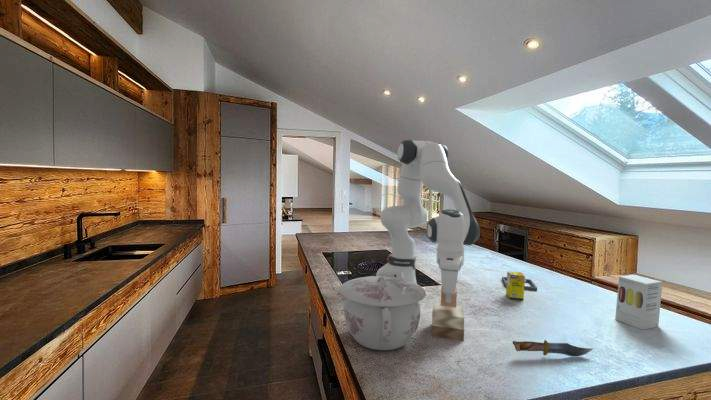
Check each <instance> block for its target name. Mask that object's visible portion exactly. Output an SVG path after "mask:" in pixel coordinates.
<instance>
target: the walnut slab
mask: <svg viewBox="0 0 711 400" xmlns="http://www.w3.org/2000/svg"><path fill="white" fill-rule="evenodd" d="M431 326H432V325H431ZM431 329H432V330H431V336H432V337H435V338H441V339H447V340H455V341H462V342H464V341H465V338H464V337H465V329H464V330H462V329H455V328H447V327H439V326H432V327H431Z"/></svg>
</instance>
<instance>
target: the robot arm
mask: <svg viewBox="0 0 711 400" xmlns="http://www.w3.org/2000/svg"><path fill="white" fill-rule="evenodd" d="M448 158H449V149H448V147H447V146H446V144H443V143H440V142H433V141H429V140H413V139H405V140H402V141H401V142H400V143H399V146H398V149H397V159H398V160H399V162H400V163H402V165H401V167H400V173H399V178H398V184H397V194H398V196H400V197H401V198H402V205H391V206H388V207H385V208H383V209H382V211H381V213H380V216H379V217H380V223H381V224H382V226H383V227H384V228H385V229H386V230H387V231H388V233H389V236H390V239H391V254H389V255H388V256H387V263H385V264H384V265H383V266H381V267H380V268H379V269H378V270H377V272H376V275H375V276H387V277H395V278H401V279H405V280H408V281H412V282H414V283H416V284H418V283H417V282H418V281H417V278H416V277H417V276H416V265H417V260H416V241H415V239H414V238H413V237H412V236H411V235H409V231H408V229H411V228H413V229H414V228H417V227H420V226H423V225H424V224H425V223H426V237H427V239H428V240H429V241H430V242H432V243H434V244H437V247H436V264H437V265H438V269H440V277H441V288H442V290H443V293H444V294H446V302H448V303H451V297H452V295H454V294H455V290H456V288H457V283H458V276H459V271H461V268H462V266H464V264H465V247H464V246H472V245H474V244H475V243H476V242H477V241H478V240H479V238H480V235H481V229H480V226H479V223H478V221H477V219H476V217H475V215H474V213H473V210H472V208H471V206H470V205H471V204H470V203H469V200H468V197H467V195H466V193H465V189H464V186H463V184H462V183H461V181H460V180H459V179H458V178H457V177H455V176H454V175H453V173H452V172H451V170H450V168H449V164H448V163H449V162H448ZM423 185H424V186H425V187H426V188H427V189H429V190H430V191H433V192H436V193H439V194H441V195H444V196H446V197H448V198H449V199H451V201H453V203H454V207H455V209H450V208H449V209H448V208H447V209H443V210H441V211H440V212H439V214H438V216H436V217H432V218H431V219H430V220H428V211H427V210H426V209H425V207H424V205H423V203H422V189H423ZM427 221H428V222H427Z"/></svg>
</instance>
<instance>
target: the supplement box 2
mask: <svg viewBox="0 0 711 400" xmlns="http://www.w3.org/2000/svg"><path fill="white" fill-rule="evenodd" d="M617 285H618V286H617V294H616V295H617V296H616V305H615V308H616V309H615V319H614V320H617V321H619V322H621V323H624V324H626V325H629V326H632V327H635V328H637V329H640V330H641V331H644V330H648V329H653V328H657V327H659V324H660V323H659V322H660V312H661V311H660V310H661V301H662V290H663V281H661V280H657V279H652V278H649V277H646V276H645V277H644V276H641V275H637V274H628V275H620V276H618V283H617Z"/></svg>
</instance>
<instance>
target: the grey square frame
mask: <svg viewBox="0 0 711 400" xmlns="http://www.w3.org/2000/svg"><path fill="white" fill-rule="evenodd" d="M501 281H502V283H503V285H504V286H505V287H504V288H506V286H507V276H502V277H501ZM525 283H529V284H530V285H531V286H529V285H528V286H524V291H525V290H526V291H538V287H537V285H536V284H535V283H534V281H533V280H532V279H531V278H526V282H525Z"/></svg>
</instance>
